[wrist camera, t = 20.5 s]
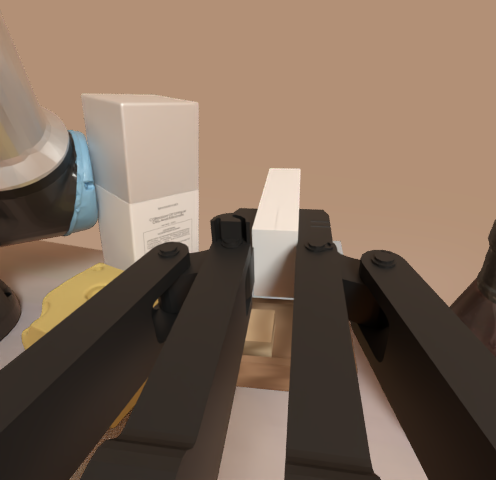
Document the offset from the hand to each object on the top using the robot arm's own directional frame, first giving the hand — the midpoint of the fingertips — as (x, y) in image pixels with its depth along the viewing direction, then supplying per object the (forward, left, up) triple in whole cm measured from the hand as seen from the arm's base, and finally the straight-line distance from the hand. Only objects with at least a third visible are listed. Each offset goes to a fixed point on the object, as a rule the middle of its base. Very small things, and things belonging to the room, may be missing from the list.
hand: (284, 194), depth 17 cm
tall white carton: (-19, +19, -22) cm, 34 cm away
